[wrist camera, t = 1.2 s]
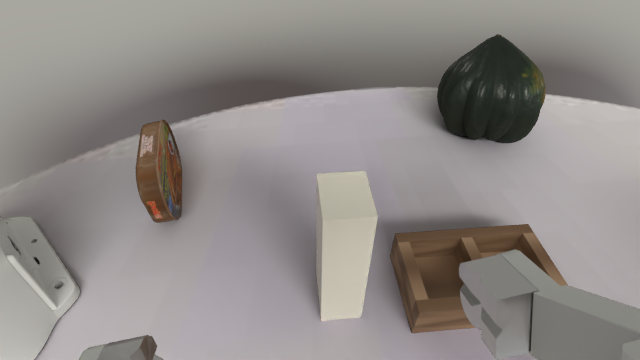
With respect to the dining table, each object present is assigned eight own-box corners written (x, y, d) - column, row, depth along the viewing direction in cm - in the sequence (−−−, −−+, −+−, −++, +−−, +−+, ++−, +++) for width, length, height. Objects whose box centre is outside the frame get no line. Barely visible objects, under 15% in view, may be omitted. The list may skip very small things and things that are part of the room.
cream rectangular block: (361, 317, 37) (377, 216, 27) (320, 321, 37) (322, 220, 27) (353, 274, 41) (365, 170, 31) (316, 277, 41) (316, 173, 31)
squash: (527, 148, 49) (571, 35, 48) (416, 117, 55) (453, 17, 54) (519, 161, 62) (554, 72, 60) (430, 135, 68) (461, 54, 67)
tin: (181, 233, 45) (161, 182, 39) (153, 238, 44) (129, 187, 39) (182, 156, 56) (167, 107, 50) (160, 159, 55) (142, 110, 49)
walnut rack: (557, 319, 37) (576, 298, 35) (411, 333, 36) (419, 312, 34) (514, 246, 44) (528, 224, 41) (390, 255, 43) (395, 233, 40)
